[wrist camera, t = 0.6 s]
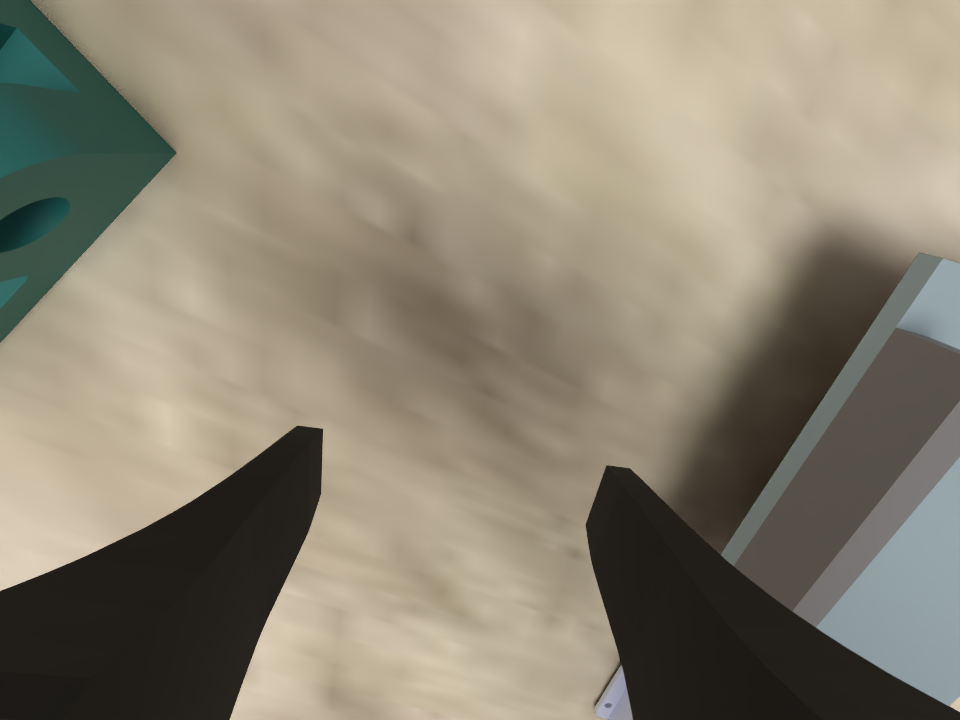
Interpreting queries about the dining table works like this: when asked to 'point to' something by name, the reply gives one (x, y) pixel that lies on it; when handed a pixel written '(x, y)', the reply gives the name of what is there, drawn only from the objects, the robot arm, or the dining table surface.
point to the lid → (877, 495)
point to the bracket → (59, 157)
